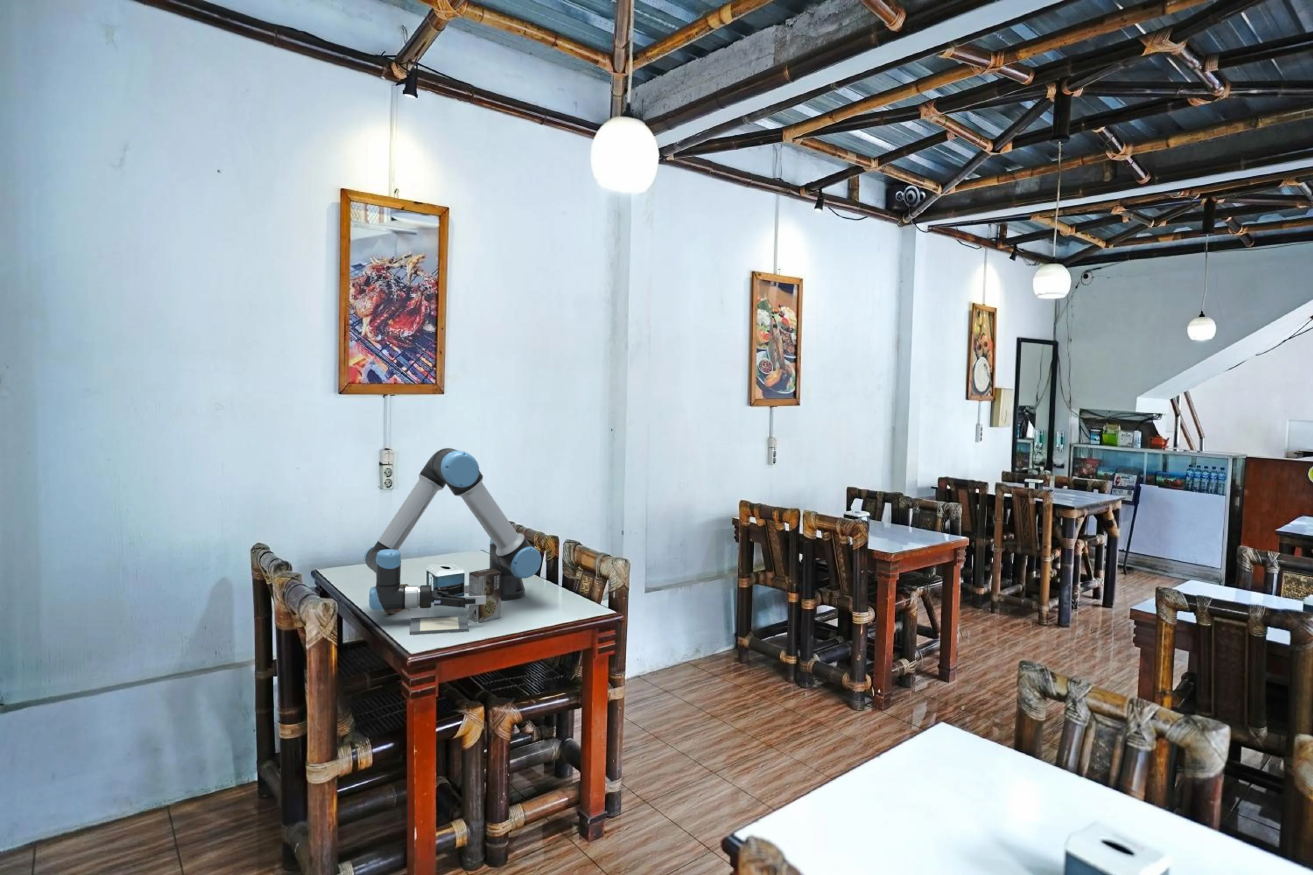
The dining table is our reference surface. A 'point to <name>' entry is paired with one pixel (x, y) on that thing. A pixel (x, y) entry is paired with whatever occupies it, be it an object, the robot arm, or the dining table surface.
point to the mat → (438, 624)
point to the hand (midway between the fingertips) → (484, 594)
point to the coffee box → (485, 594)
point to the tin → (395, 609)
